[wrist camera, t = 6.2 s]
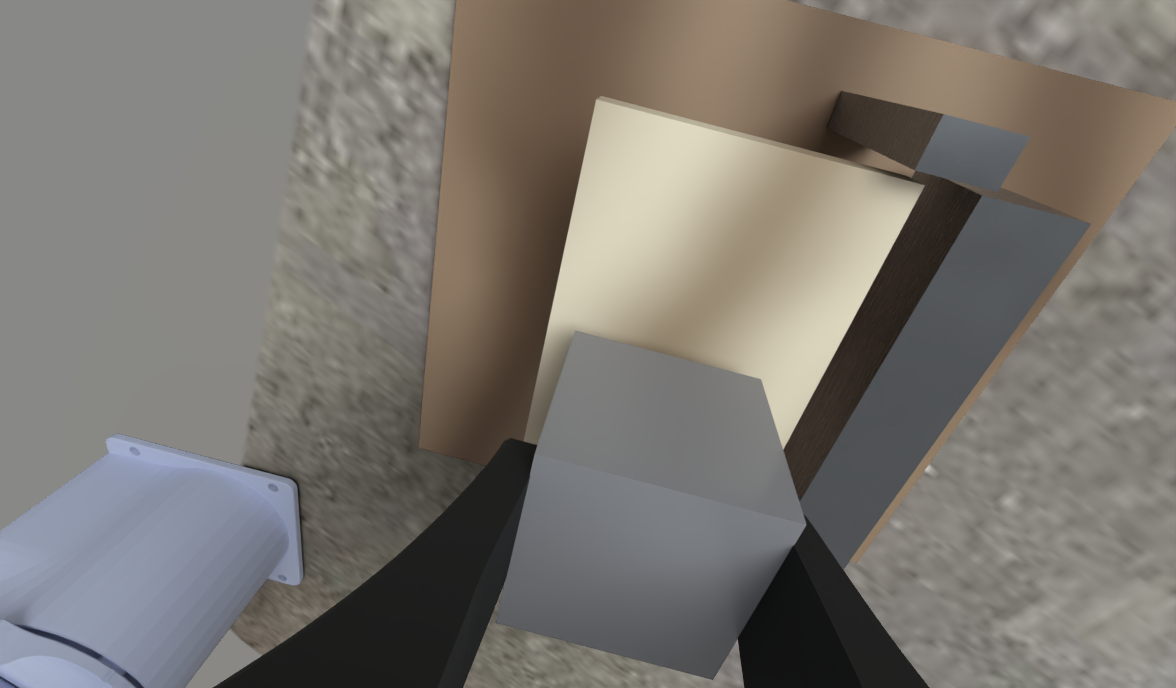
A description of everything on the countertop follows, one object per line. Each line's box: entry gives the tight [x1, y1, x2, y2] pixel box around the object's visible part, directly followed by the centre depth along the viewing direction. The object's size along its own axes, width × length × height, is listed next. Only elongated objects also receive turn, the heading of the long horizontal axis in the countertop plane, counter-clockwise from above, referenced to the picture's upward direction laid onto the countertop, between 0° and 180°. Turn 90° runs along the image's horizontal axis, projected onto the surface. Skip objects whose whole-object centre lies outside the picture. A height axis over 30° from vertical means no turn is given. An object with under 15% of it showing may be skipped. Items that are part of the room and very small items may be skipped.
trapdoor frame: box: [418, 0, 1176, 563], centre depth 16 cm, size 20×19×7 cm
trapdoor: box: [524, 96, 1091, 570], centre depth 16 cm, size 11×13×4 cm
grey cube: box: [496, 331, 806, 680], centre depth 12 cm, size 4×4×4 cm
